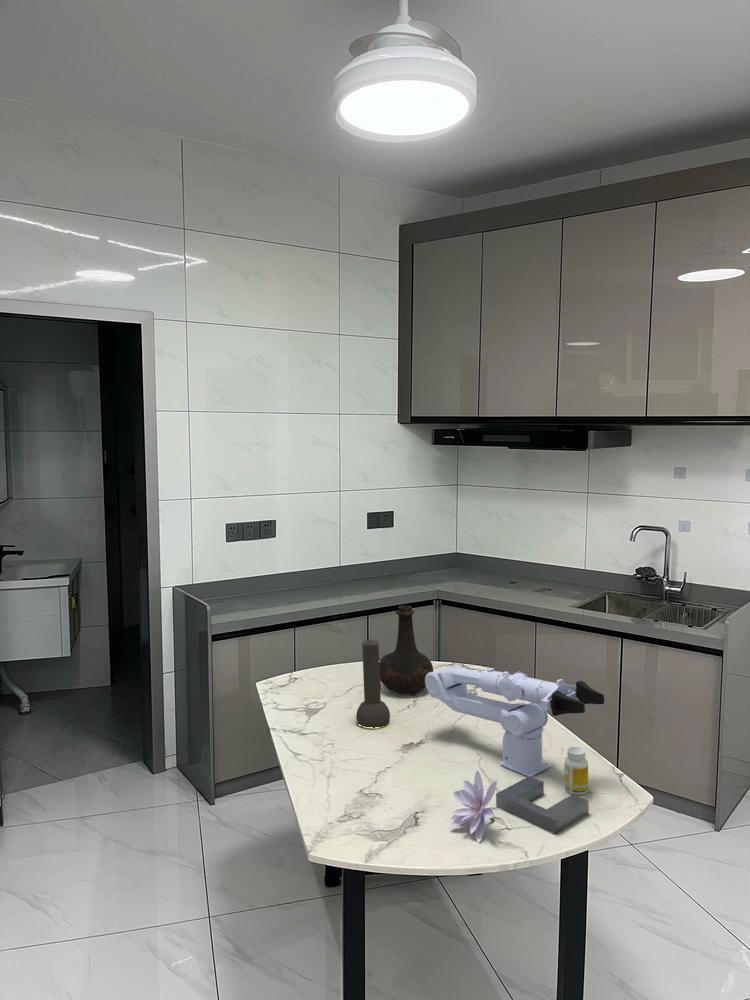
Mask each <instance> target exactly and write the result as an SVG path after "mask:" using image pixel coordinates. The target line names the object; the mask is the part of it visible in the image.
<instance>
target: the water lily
mask: <svg viewBox="0 0 750 1000" xmlns="http://www.w3.org/2000/svg"><path fill="white" fill-rule="evenodd" d="M497 783H498V781H497V780H496V781H494V782H492V783H490V785H489V786H488V788H487V791H486V792H485V793H486V794H485V795H484V791H485V789H484V783H483V779H482V775H481V773H480V771H479V770H478V769H477V770H476V772H475V774H474V779H473V784H472V782H470V781H468V780H467V779H465V780H463V783H462V784H463V786H462V789H460V790H455V791H453V793H452V795H453V797H454V799H455V800H456V801H457V802H458V803H460V805H462V806H464V808H459V809H456V810H455V811H453V813H452V815H453V816H452V817H451V819H450V820H454V821H453V822H451V823H450V825H449V827H450V828H455V827H458V826H461V825H463V824H466V823H468V822H469V821H471V820H472V822H471V823H470V827H469V832H470V834H471V835H473V833H474V838H475V840H476V839H479V840H480V842H481V841H482V839H483V835H484V831H485V827H486V822H485V821H486V820H485V819H487V820H488V819H489V820H490V821H491V822H492V823H494V822H495V818H494V816H495V812H494V810H493V809H492V808H491V807H486V806H487V805H488V804H489V803H490V802H491V800H492V799H493V797H494V794H495V793H496V792H495V791H496V788H497V785H498V784H497ZM466 807H467V808H466Z"/></svg>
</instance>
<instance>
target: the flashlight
mask: <svg viewBox="0 0 750 1000" xmlns="http://www.w3.org/2000/svg"><path fill="white" fill-rule="evenodd" d="M361 646H362V648H361V649H362V669H363V670H362V674H363V696H364V697H363V698H364V699H363V700H364V701H361V703H360V705H359V706H358V708H357V710H356V715H355V719H356V722H358V723H357V725H358V724H360V725H362V726H365V727H373V728H375V727H382V726H385V727H387V726H388V725H389V724H390V719H391V713H390V709H389V707H388V706H387V704H386V703H385V702H384V701H383V700H381V697H382V695H381V688H382V682H381V678H380V668H379V662H380V651H379V649H380V648H379V641H377V640H374V639H371V638H369V639H368V640H365V641H363V642H362V644H361ZM387 724H388V725H387ZM386 725H387V726H386ZM382 728H383V727H382Z"/></svg>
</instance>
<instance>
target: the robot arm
mask: <svg viewBox="0 0 750 1000" xmlns="http://www.w3.org/2000/svg"><path fill="white" fill-rule="evenodd" d="M425 685H426V688H425V689H426V690H427V691H428V693H429V695H430V697H431V698H433V699H437V700H440V701H441V702H442V703H444V704H445V705H446V706H447V707H448V708H449V709H451V710H452V711H454V712H456V713H460V714H464V715H466V716H467V715H468V716H472V717H475V718H478V719H483V720H487V721H491V722H494V723H495V722H496V723H498V724H501V727H502V730H505V731H504V734H503V736H502V761H501V763H500V765H501V766H502V767H505V768H507V769H509V770H511V771H514V772H516V773H519V774H521V775H524V776H525V777H529V776H531V777H534V776H536V775H537V774H539V773H541V772H543V771H545V770H547V769H549V768H550V764H549V763H548V764H547V763H546V762H543V732H544V727H545V726H546V725H547V723H548V720H549V715H548V712H547V711H548V710H551V713H552V716H554V717H557V716H560V715H561V716H562V715H566V714H584V713H585V712H586V707H585V705H590V704H591V705H605V695H604V694H603V693H601V692H599V691H597V690H595V689H594V688H591V687H590V686H589V685H588V684H587V683H586V682H585V681H583V680H578V681H576V682H575V685H573V684H568V683H567V684H566V683H565V681H564V679H563V678H560V679H557V680H556V682H554V681H553V682H552V681H547V680H543V679H537V678H533V677H529V676H528V675H527V674H526V673H524V672H521V671H517V672H515V673H513V674H511V673H509V671H503V672H502V671H498V670H497V671H496V670H495V668H493V667H490V668H487V669H485V670H484V671H483V672H480V671H477V670H473V669H469V668H465V667H462V666H461V665H459V664H458V665H455V664H449V666H446V667H444V668H441V669H438V670H433V672H429V673H428V674H427V675H426V677H425ZM468 685H469V686H476V687H479V688H480V689H481V690H482V691H483V692H484V693H489V694H493V695H496V696H497V695H498V696H500V697H501V696H503V698H505V699H507V702H505V701H500V700H497V699H493V698H490V697H484V696H479V695H477V694H472V693H469V689H468ZM516 700H521V701H525V702H518V703H517V702H516V703H511V702H514V701H516ZM527 702H529V703H527Z"/></svg>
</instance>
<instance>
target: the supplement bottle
mask: <svg viewBox="0 0 750 1000" xmlns="http://www.w3.org/2000/svg"><path fill="white" fill-rule="evenodd" d="M566 751H567V757H565V758H564V763H563V764H564V765H563V766H564V771H563V773H564V779H563V780H564V781H563V782H564V784H563V785H564V791H566V792H567V793H568V794H570V795H572V794H574V795H577V796H582V795H585V794H587V793H588V791H589V761H588V760H587V758H586V750H585V749H584V748H582V747H578V746H573V747H572V746H571V747H569V748H568V749H567V750H566Z"/></svg>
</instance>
